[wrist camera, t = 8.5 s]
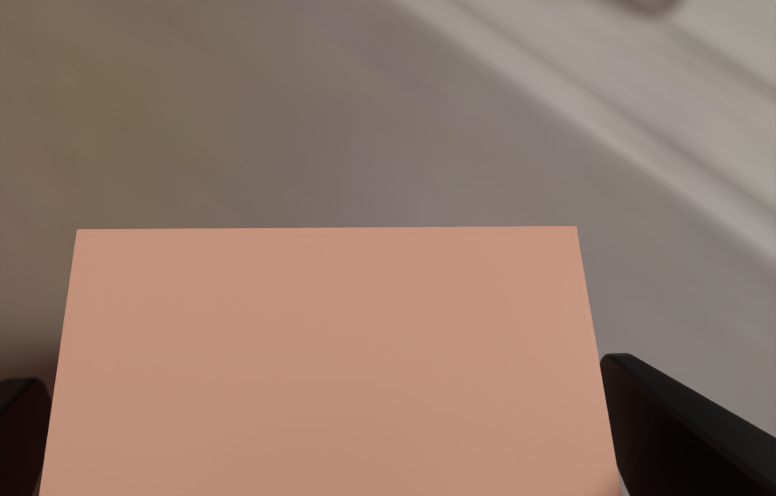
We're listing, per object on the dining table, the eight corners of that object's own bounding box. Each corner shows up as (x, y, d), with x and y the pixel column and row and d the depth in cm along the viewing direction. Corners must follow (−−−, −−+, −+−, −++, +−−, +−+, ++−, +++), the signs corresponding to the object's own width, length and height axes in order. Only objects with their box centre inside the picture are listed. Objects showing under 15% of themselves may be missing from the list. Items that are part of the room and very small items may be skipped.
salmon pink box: (455, 551, 14) (679, 830, 5) (212, 575, 13) (-28, 963, 4) (437, 318, 16) (576, 226, 7) (224, 324, 15) (76, 229, 6)
